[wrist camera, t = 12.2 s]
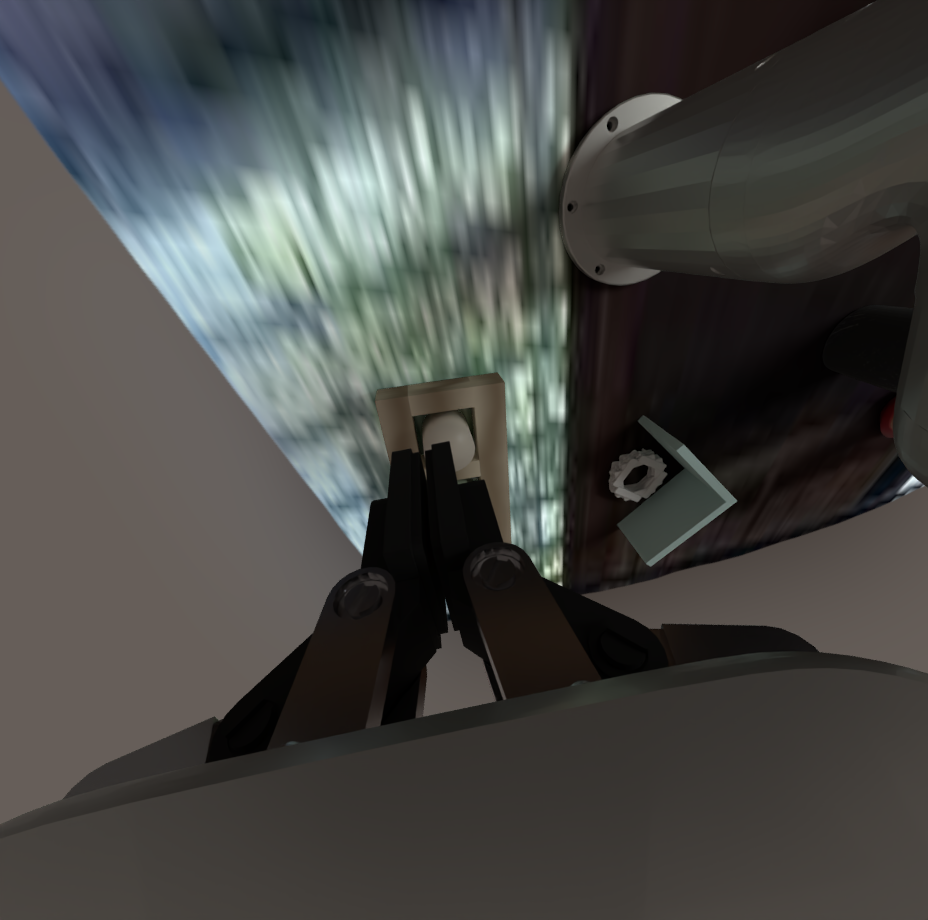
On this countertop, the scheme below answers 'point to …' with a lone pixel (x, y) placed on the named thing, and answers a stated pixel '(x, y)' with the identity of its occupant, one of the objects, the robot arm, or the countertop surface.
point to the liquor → (887, 418)
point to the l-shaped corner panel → (666, 497)
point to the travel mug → (870, 345)
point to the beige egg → (449, 435)
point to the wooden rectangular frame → (486, 419)
